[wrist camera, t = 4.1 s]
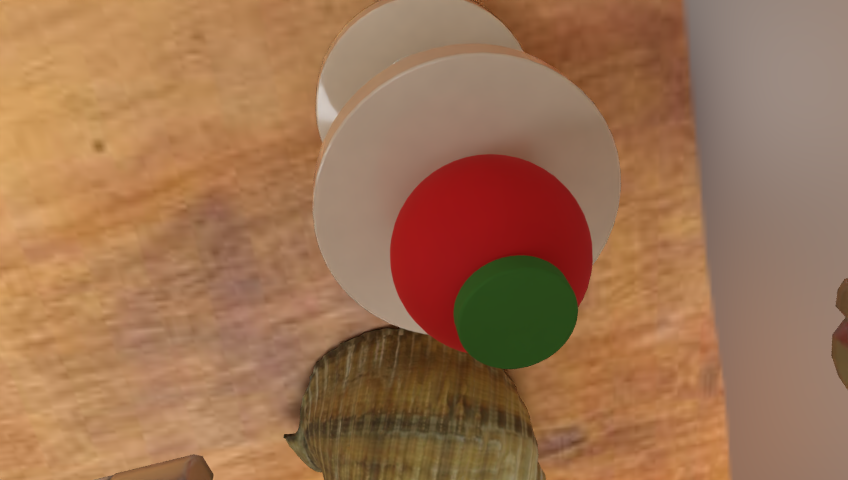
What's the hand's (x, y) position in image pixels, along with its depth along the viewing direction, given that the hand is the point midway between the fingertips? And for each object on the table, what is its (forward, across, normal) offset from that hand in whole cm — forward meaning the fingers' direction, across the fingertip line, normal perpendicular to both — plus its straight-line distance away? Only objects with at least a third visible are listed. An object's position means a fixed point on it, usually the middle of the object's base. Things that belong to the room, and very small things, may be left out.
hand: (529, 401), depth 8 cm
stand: (+12, 0, 0) cm, 12 cm away
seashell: (+12, +2, +11) cm, 17 cm away
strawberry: (+5, 0, 0) cm, 5 cm away
